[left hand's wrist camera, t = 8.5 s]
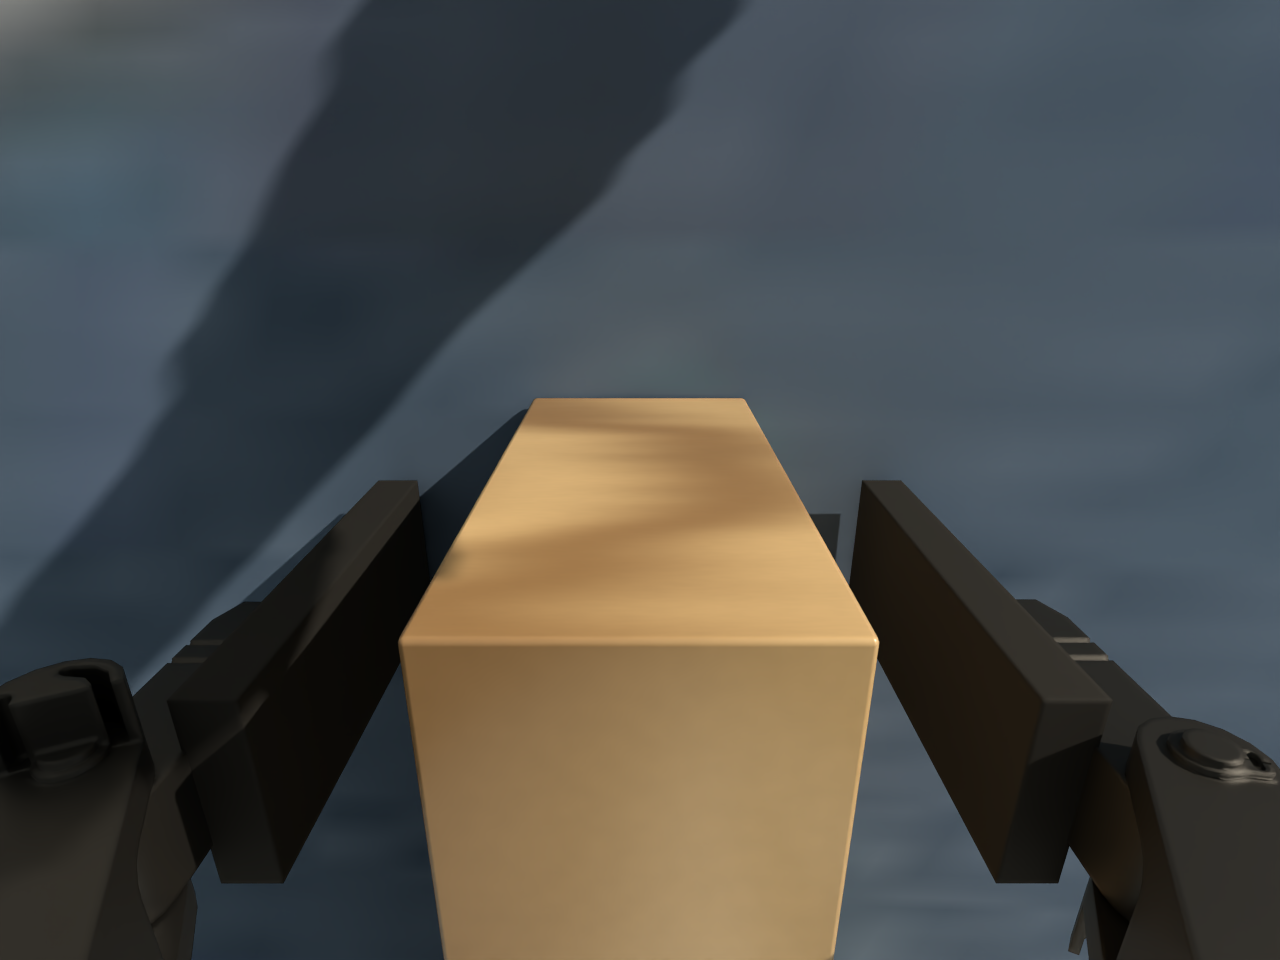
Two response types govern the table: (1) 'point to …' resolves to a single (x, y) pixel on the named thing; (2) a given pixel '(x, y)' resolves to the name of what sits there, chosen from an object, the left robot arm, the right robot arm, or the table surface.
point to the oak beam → (638, 697)
